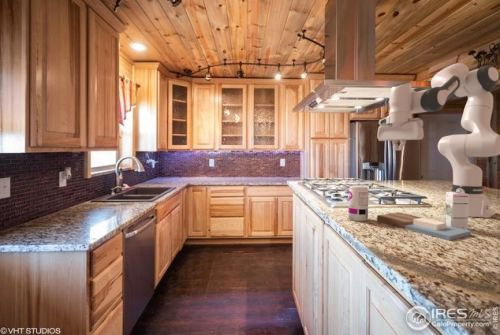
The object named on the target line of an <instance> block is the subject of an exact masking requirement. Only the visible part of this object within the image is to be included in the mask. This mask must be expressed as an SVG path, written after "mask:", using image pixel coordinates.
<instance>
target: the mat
mask: <svg viewBox="0 0 500 335" xmlns="http://www.w3.org/2000/svg"><path fill="white" fill-rule="evenodd" d="M404 229H406V230H409V231H413V232H417V233H420V234H424V235H428V236H432V237H434V238H438V239H441V240H442V239H443V240H446V241H449V240H450V241H453V239H454V240H457V239H460V238H466V237H468V236H471V235H472V230H465V229H460V228H456V227H451V226H447V225H446V228H445V229H440V230H434V229H430V228H426V227H422V226H418V225H414V224H408V225H405V228H404Z"/></svg>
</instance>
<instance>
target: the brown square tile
mask: <svg viewBox="0 0 500 335" xmlns="http://www.w3.org/2000/svg"><path fill="white" fill-rule="evenodd" d="M418 218H423V217H421V216H415V215H411V214H407V213H403V212H392V213H385V214H379V215H377V216H376V222H379V223H383V224H385V225H386V224H387V225H390V226H394V227H397V228H401V229H405V225H408V224H413V219H418Z"/></svg>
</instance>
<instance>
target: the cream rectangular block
mask: <svg viewBox="0 0 500 335" xmlns="http://www.w3.org/2000/svg"><path fill="white" fill-rule="evenodd" d="M413 224H414V225H418V226H422V227H426V228H430V229H434V230H440V229H445V228H446V223H445V221H444V222H443V221H439V220H435V219H430V218H425V217H422V218H418V219H413Z"/></svg>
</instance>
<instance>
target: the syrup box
mask: <svg viewBox="0 0 500 335" xmlns="http://www.w3.org/2000/svg"><path fill="white" fill-rule="evenodd" d="M468 205H469V194H465V193H462V192H452V191H446V192H445V208H446V209H445V208H444V209H445V210H444V211H445V213H444V214H445V215H444V223H446V225H447V226H451V227H456V228H460V229H465V230H468V228H469V226H468V225H469V216H468Z"/></svg>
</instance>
